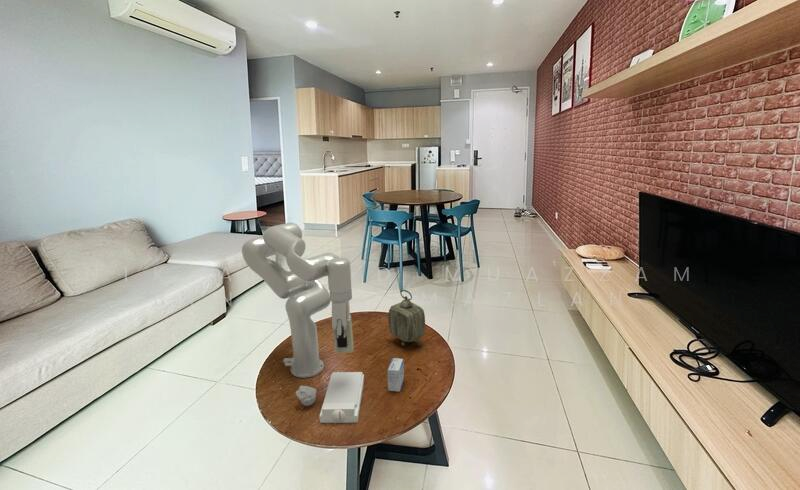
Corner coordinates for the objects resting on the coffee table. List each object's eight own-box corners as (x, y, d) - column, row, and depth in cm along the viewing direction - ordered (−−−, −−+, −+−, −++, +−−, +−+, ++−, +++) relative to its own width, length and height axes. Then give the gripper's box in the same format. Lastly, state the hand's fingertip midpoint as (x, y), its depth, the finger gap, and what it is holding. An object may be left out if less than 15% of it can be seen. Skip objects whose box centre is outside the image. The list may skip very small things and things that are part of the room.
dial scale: (319, 423, 121) (318, 410, 119) (331, 380, 142) (331, 368, 141) (357, 423, 121) (356, 409, 119) (364, 380, 142) (363, 368, 141)
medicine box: (400, 392, 135) (399, 371, 133) (387, 391, 136) (387, 369, 134) (404, 379, 143) (404, 358, 140) (392, 377, 144) (392, 357, 141)
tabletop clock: (425, 346, 165) (425, 292, 158) (410, 354, 159) (409, 298, 153) (402, 334, 175) (401, 283, 169) (387, 341, 170) (386, 288, 163)
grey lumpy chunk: (295, 401, 131) (293, 384, 129) (316, 396, 134) (314, 378, 132) (298, 412, 126) (296, 394, 124) (319, 406, 129) (318, 388, 127)
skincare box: (353, 346, 136) (352, 314, 133) (352, 352, 132) (351, 320, 129) (335, 346, 136) (333, 315, 133) (334, 353, 132) (331, 321, 128)
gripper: (333, 285, 136) (336, 331, 141) (324, 305, 120) (328, 356, 125) (354, 285, 136) (357, 331, 141) (348, 304, 120) (351, 356, 125)
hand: (343, 342), depth 133 cm, fingers closed on skincare box, 4 cm apart
